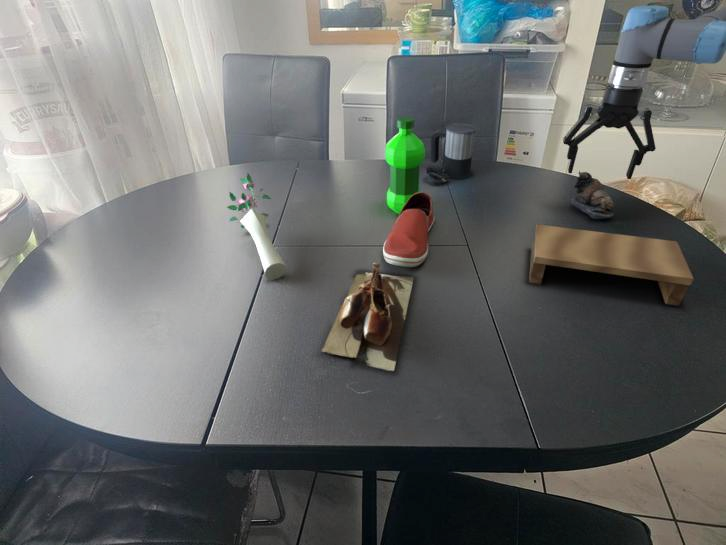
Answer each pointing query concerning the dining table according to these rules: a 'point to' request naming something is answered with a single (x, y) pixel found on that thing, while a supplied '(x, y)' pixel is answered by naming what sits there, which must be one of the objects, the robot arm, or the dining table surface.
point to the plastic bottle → (403, 164)
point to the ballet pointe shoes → (372, 319)
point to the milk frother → (452, 152)
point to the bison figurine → (592, 197)
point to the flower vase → (258, 231)
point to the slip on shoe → (410, 232)
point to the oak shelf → (612, 257)
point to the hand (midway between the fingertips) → (598, 174)
